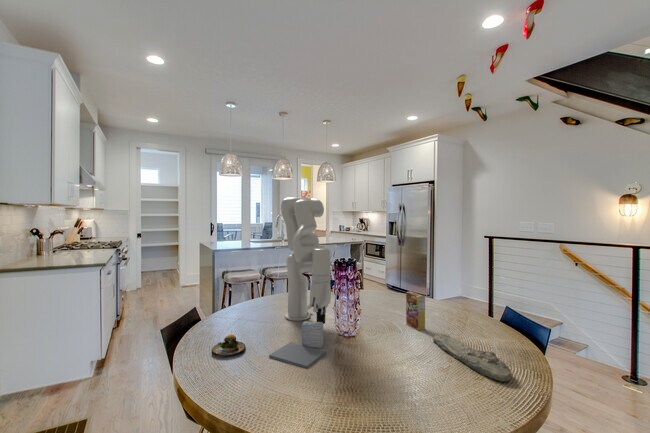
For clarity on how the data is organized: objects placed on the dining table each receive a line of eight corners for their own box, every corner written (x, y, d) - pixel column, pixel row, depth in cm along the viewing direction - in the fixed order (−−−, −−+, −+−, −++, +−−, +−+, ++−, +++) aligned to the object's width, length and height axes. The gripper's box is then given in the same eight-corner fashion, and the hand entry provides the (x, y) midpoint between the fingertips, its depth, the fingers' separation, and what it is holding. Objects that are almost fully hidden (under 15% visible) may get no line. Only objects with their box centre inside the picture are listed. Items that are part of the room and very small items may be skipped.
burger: (204, 356, 112) (205, 335, 112) (226, 343, 123) (226, 324, 123) (232, 361, 108) (233, 340, 108) (252, 348, 119) (252, 328, 119)
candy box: (405, 324, 146) (405, 291, 146) (412, 323, 148) (412, 290, 148) (417, 330, 138) (418, 296, 138) (425, 329, 140) (425, 295, 140)
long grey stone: (447, 342, 130) (426, 346, 127) (446, 329, 130) (425, 333, 127) (522, 380, 96) (496, 386, 94) (520, 363, 97) (495, 369, 94)
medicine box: (323, 343, 124) (323, 321, 123) (321, 348, 119) (322, 325, 119) (303, 342, 124) (303, 320, 124) (301, 347, 120) (301, 324, 120)
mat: (290, 344, 123) (290, 342, 123) (326, 353, 115) (326, 351, 115) (269, 357, 111) (269, 355, 111) (307, 368, 103) (307, 365, 103)
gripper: (322, 274, 135) (321, 316, 135) (303, 280, 122) (303, 327, 122) (337, 276, 132) (337, 319, 132) (320, 282, 119) (319, 330, 119)
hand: (320, 323), depth 127 cm, fingers closed
